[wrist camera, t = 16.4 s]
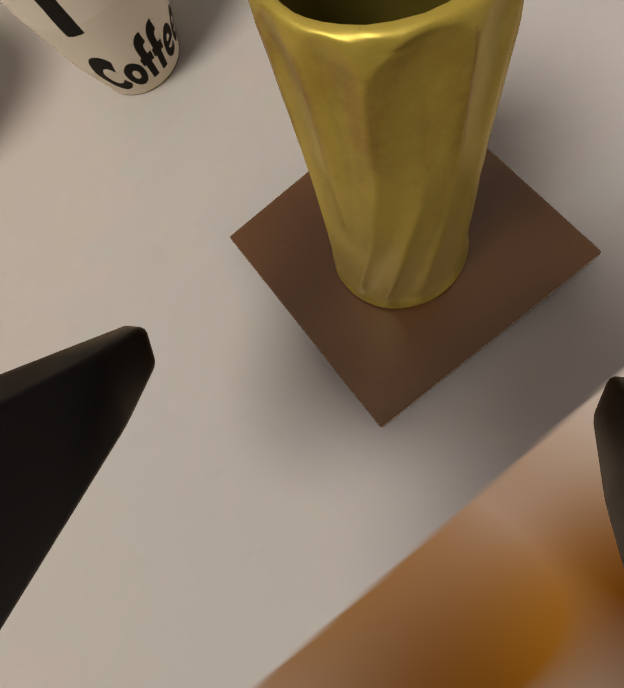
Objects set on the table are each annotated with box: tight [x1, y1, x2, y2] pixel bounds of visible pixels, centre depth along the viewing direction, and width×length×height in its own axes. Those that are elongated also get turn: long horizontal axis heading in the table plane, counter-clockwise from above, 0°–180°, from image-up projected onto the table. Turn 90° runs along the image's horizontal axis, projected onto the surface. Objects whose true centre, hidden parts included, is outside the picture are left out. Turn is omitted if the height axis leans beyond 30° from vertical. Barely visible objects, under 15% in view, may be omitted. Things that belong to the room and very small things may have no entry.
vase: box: [248, 0, 524, 309], centre depth 14 cm, size 6×6×14 cm
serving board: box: [231, 148, 601, 427], centre depth 22 cm, size 12×12×1 cm
